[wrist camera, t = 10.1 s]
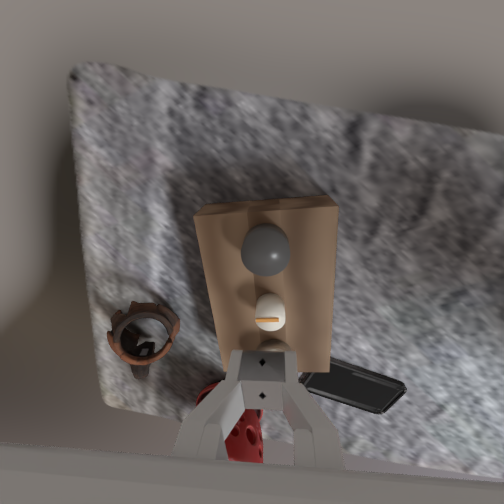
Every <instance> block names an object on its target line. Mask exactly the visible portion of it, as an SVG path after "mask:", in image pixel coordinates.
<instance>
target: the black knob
mask: <svg viewBox="0 0 504 504" xmlns="http://www.w3.org/2000/svg"><path fill="white" fill-rule="evenodd" d="M241 259H242V262H243V264H244V266H245V267H246V268H247V269H248V270H249V271H250V272H252V273H254V274H256V275H259V276H273V275H276V274H278V273H280V272H281V271H283V270H284V269H285V268H286V266H287V265H288V263H289V260H290V247H289V241H288V237H287V235H286V233H285V232H284V231H283V230H282V229H281V228H280V227H278V226H276V225H274V224H269V223H263V224H258V225H256V226H254V227H252V228H251V229H250V230H249V231H248V232H247V234H246V236H245V238H244V241H243V245H242V248H241Z"/></svg>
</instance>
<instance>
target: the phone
mask: <svg viewBox="0 0 504 504" xmlns="http://www.w3.org/2000/svg"><path fill="white" fill-rule="evenodd" d="M302 384H303V385H304V387H305V388H306V389H307V391H308V392H310V393H313V394H316V395H319V396H322V397H325V398H328V399H331V400H334V401H337V402H340V403H343V404H346V405H349V406H352V407H356V408H359V409H362V410H365V411H368V412H371V413H374V414H383V413H385V412H386V411H387V410H388V409H389V408H390V407H391V406H392V405H393V404H394V403H395V402H397V401H398V400H399V399H400V398H401V397H402V396H403V395H404V394H405V393H406V391H407V388H406V387H405V385H404V383H403V382H400V381H397V380H395V379H392V378H389V377H386V376H383V375H380V374H377V373H374V372H371V371H368V370H365V369H363V368H360V367H357V366H354V365H351V364H348V363H345V362H342V361H339V360H336V359H334V358H331V357H330V369H329V372H308V373H307V375H306V376H305V378H304V379H303V381H302Z"/></svg>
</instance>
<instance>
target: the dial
mask: <svg viewBox="0 0 504 504" xmlns="http://www.w3.org/2000/svg"><path fill="white" fill-rule="evenodd" d="M255 322H256V324H257V325H258V326H259V327H260V328H261V329H263V330H266V331H276V330H278V329H280V328H282V327H283V325H284V324H285V304H284V301H283V299H282V298H281V297H280V296H279V295H277V294H274V293H267V294H264V295H262V296H260V297H259V298H258V300H257V304H256V314H255Z"/></svg>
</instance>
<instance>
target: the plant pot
mask: <svg viewBox="0 0 504 504" xmlns="http://www.w3.org/2000/svg"><path fill="white" fill-rule="evenodd" d="M219 383H220V382H218V383H214V384H211V385H209V386H207V387H206V388H204V389H203V390H202V391H201V392H200V394H199V395H198V397H197V400H196V407H197V406H198V405H199V404H200V402H201V401H202V400H203V399H204V398H205V397H206V396H207V395H208V394H209V393H210V392H211V391H212V390H213V389H214V388H215V387H216V386H217V385H218V384H219ZM196 407H195V408H196ZM195 408H194V409H195ZM262 415H263V409H245V411H244V412H243V414H242V415H241V417H240V418H239V420H238V421H237V423H236V424H235V426H234V427H233V429H232V430H231V432H230V433H229V435H228V436H227V438H226V439H225V441H224V442H225V446H226V451H227V455H228V459H229V461H240V462H252V463H263V440H262V433H261V427H260V423H259V421H260V420H261V418H262Z"/></svg>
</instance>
